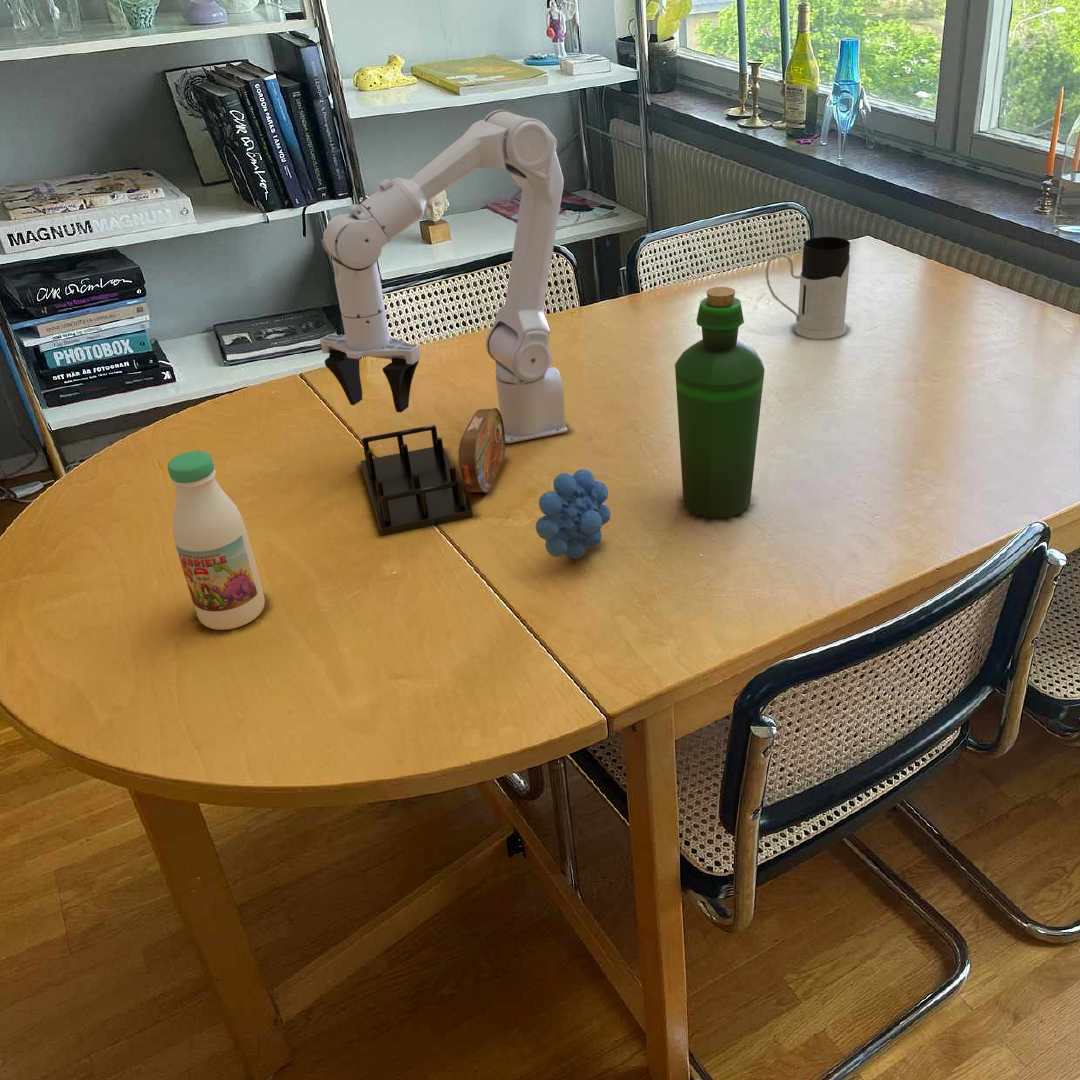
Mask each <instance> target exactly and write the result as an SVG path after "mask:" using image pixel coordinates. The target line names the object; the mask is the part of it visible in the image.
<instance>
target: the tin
mask: <svg viewBox="0 0 1080 1080" xmlns="http://www.w3.org/2000/svg"><path fill="white" fill-rule="evenodd" d="M505 453H506V443H505V431H504V425H503V420H502V416H501V413H500V411H499V408H497V407H493V408H480V409H478V410H476V411H475V413H474V414H473V416H472V417H471V420H470V422H469V423H468V425H467V427H466V429H465V430H464V432H463V435H462V436H461V438H460V442H459V445H458V466H459V469H460V475H461V480H462V485H463V489H465V491H466V492H469V493H484V494H487V493H489V492H490V490H491V489H492V486H493V484H494V482H495V479H496V478H497V475H498V473H499V471H500V469H501V466H503V462H504V460H505Z"/></svg>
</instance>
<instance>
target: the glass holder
mask: <svg viewBox="0 0 1080 1080" xmlns="http://www.w3.org/2000/svg"><path fill="white" fill-rule="evenodd" d="M802 247H803V248H802V261H801V263H802V264H801V272H800V275H794V263H793V260H792V259H791V257H790V256H789V255H788V254H785V253H776V254H774V255H772V256H770V258H769V259H768V261H767V263H766V267H765V279H766V284H767V287H768V289H769V292H770V293H771V296H772V297H773V298H774V299H775V300H776V301H777V302H778V303H779V304H780V305H782V306H783V307H784V308H786V309H787V311H789V312H791V313H792V314H793V315H794V316H795V322H796V324H795V327H794V332H795V333H796V335H798V336H800V337H804V338H806V339H807V338H808V339H813V340H814V339H815V340H827V339H829V340H830V339H836V338H838V337H841V336H843V335H844V334H846V333H847V326H846V323H845V320H846V311H847V310H846V308H847V298H848V297H847V296H848V287H849V286H848V285H849V275H850V262H851V255H850V249H851V242H850V241H849V240H848V239H846V238H842V237H838V236H837V237H836V236H818V237H813V238H810V239H807V240H805V241H803V245H802ZM779 257H784V258H786V259H787V260H788V262H789V268H790V275H791V277H792V278H793V279H796V280H799V294H798V297H799V298H798V310H797V312H796V311H795V310H794V309H792V308H791V307H790V306H789V305H787V304H786V303H784V302H783V301H782V300H781V299H780V298H779V297H778V296H777V295H776V293H775V292H774V291H773V288H772V286H771V282H770V279H769V267H770V264H771V262H772V261H773V260H775V259H776V258H779Z"/></svg>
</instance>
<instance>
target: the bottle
mask: <svg viewBox="0 0 1080 1080" xmlns="http://www.w3.org/2000/svg"><path fill="white" fill-rule="evenodd" d="M695 320H696V325H697V326H699V327H701V335H702V339H700V340H698V341H697V342H695V343H694V344H692V345H691V346H689V347H688V348H686V349H685V350H684V351H683V352H682V353H681V354H680V356H679V357H678V359H677V360H676V361H675V363H674V374H675V375H674V376H675V388H676V402H677V403H676V405H677V421H678V439H679V452H680V453H679V454H680V455H679V456H680V469H681V470H680V471H681V487H682V488H681V489H682V501H683V506H684V507H685V508H686V509H688V511H690V512H691V513H693V514H696V515H699V516H703V517H707V518H728V517H731V516H734V515H737V514H741V513H743V512H744V511H745V510H746V509H747V508H748V507H749V505H750V504H751V497H752V489H753V480H754V472H755V463H756V461H755V460H756V452H757V442H758V434H759V425H760V416H761V408H762V406H761V405H762V398H763V388H764V379H765V367H764V363H763V360H762V359H761V357H760V355H759V354H758V352H757V351H756V349H755V348H753V347H751V346H750V345H748V344H747V343H745V342H743V341H741V340H740V339H738V335H739V329H740V326H742V325H743V324H745V319H744V313H743V307H742V303H741V300H740V299H739V298H737V297H736V289H734V288H733V287H731V286H730V287H729V286H714V287H711V288H708V289H706V297H704V298H703V299H702V300H701V301H700V302H699V306H698V310H697V316H696V319H695Z"/></svg>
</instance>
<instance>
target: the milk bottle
mask: <svg viewBox="0 0 1080 1080" xmlns="http://www.w3.org/2000/svg"><path fill="white" fill-rule="evenodd" d="M167 472H168V474H169V477H170V479H171V483H172V485H173V486H175V492H176V493H175V494H176V495H175V496H176V498H175V505H174V510H173V514H172V535H173V541H174V545H175V547H176V552H177V555H178V559H179V561H180V562H179V563H180V565H181V568H182V571H183V575H184V578H185V581H186V585H187V587H188V591H189V594H190V597H191V600H192V604H193V607H194V611H195V613H196V617H197V619H198V621H199V622H200V623H201V624H202V625H203V626H205V627H207V628H209V629H212V630H220V631H222V630H223V631H224V630H232V629H237V628H240V627H242V626H245V625H247V624H249V623H251V622H253V620H255V619H257V618H258V617H259V616H260V615H261V613H262V612H263V610H264V608H265V604H266V599H265V593H264V590H263V586H262V583H261V579H260V574H259V571H258V567H257V564H256V560H255V556H254V553H253V549H252V546H251V541H250V537H249V535H248V532H247V528H246V525H245V522H244V519H243V516H242V514H241V512H240V510H239V509H238V507H237V505H236V504H235V503H234V501H233V500H232V499H231V498H230V497H229V496H228V495H227V493H226V492H225V491H224V490H223V489H222V488H221V486H220V485H219V483H218V482H217V480H216V478H215V476H216V474H217V473H216V469H215V464H214V460H213V457H212V456H211V454H210V453H209V452H207V451H203V450H191V451H185V452H182V453H179V454H177V455H175V456H174V457H172V458H171V459H170V460H169V461H168V462H167Z"/></svg>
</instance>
